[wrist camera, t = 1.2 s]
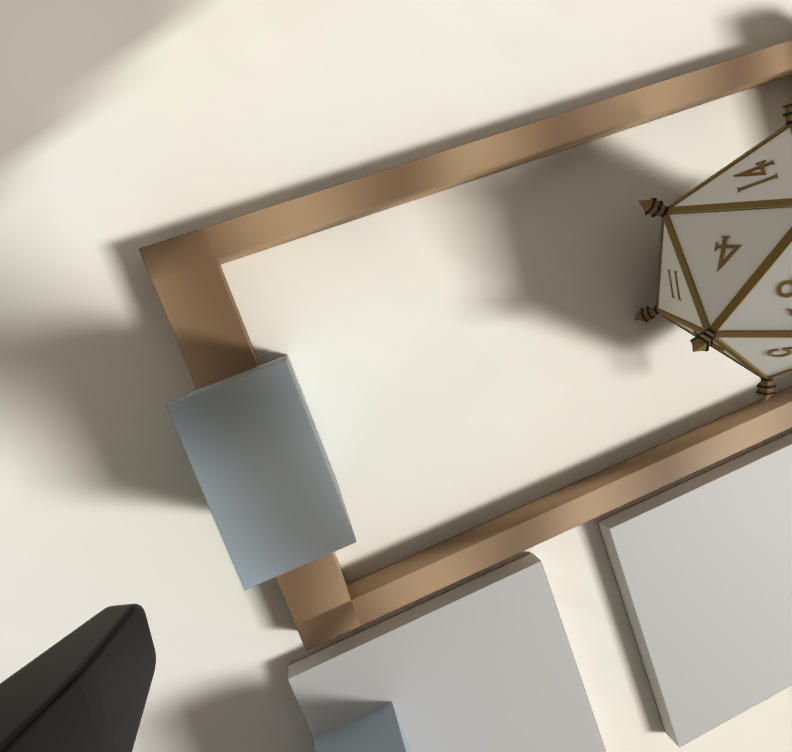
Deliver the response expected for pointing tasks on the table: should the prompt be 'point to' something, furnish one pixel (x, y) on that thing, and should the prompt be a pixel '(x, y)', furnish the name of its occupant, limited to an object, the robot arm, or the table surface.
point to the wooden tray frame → (292, 422)
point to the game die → (733, 260)
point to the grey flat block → (548, 644)
